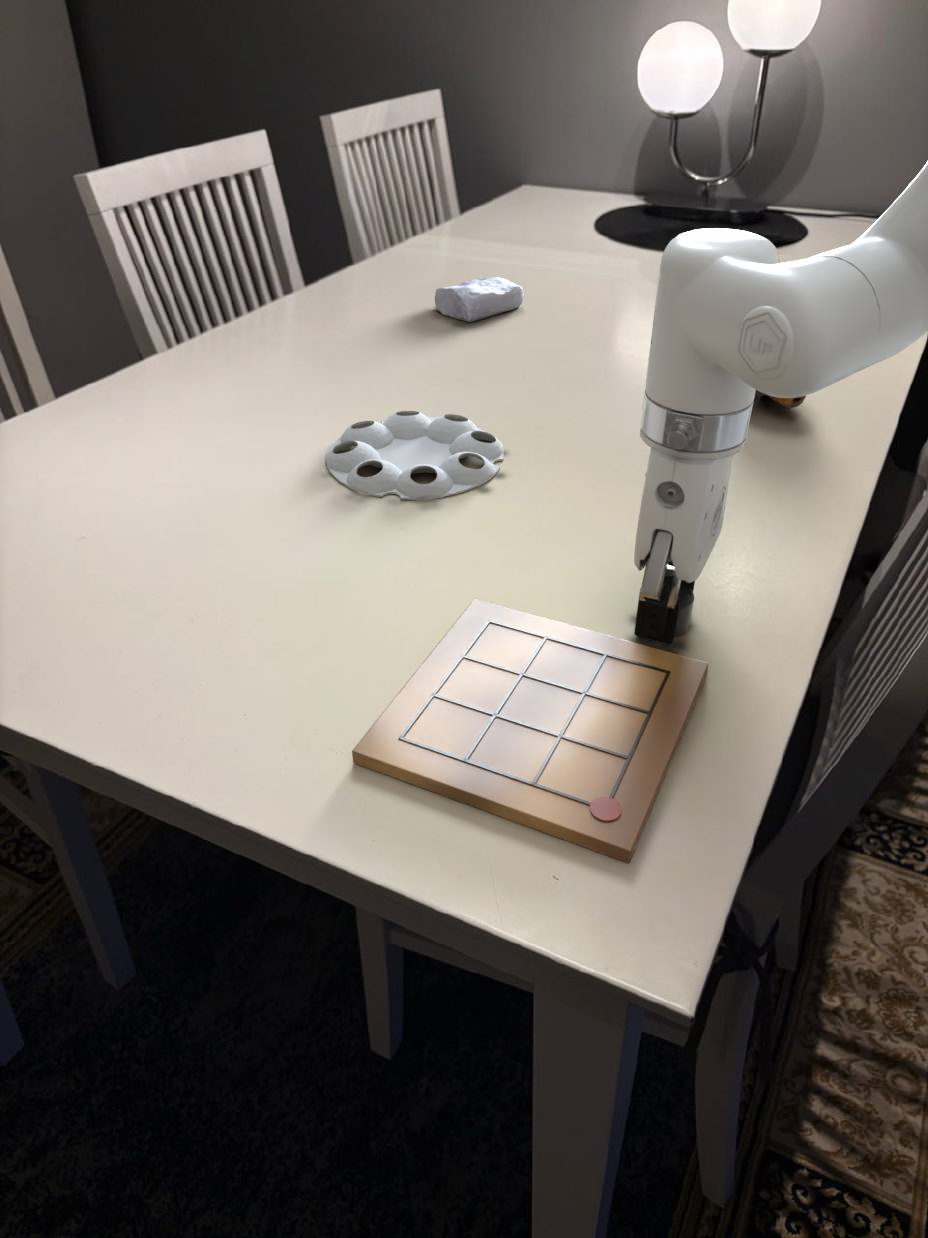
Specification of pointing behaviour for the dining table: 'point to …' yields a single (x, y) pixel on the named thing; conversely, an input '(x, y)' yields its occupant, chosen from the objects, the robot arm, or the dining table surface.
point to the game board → (540, 725)
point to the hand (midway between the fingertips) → (662, 619)
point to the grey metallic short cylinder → (682, 607)
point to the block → (478, 298)
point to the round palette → (414, 455)
